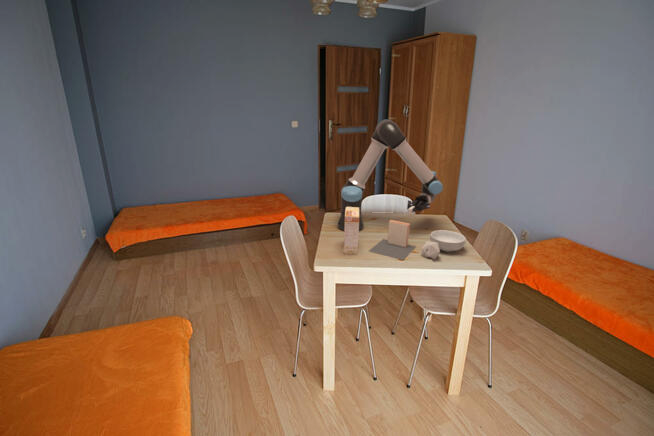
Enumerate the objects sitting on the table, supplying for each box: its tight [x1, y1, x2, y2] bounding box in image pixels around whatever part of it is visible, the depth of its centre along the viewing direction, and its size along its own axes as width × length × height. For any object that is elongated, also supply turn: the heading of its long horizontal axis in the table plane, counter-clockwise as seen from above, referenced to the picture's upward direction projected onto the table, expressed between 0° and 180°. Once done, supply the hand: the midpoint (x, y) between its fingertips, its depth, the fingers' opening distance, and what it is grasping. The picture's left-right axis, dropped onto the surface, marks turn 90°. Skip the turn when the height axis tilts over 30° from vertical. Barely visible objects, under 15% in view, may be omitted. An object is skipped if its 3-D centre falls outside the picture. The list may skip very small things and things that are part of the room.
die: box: [421, 240, 441, 260], centre depth 165 cm, size 8×9×10 cm
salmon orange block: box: [387, 219, 411, 247], centre depth 176 cm, size 10×3×12 cm, turn 58°
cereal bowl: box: [429, 229, 467, 253], centre depth 175 cm, size 17×17×7 cm
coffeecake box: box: [343, 207, 360, 255], centre depth 172 cm, size 15×7×20 cm, turn 175°
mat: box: [368, 238, 417, 261], centre depth 173 cm, size 18×19×1 cm
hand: (409, 211), depth 182 cm, fingers closed
